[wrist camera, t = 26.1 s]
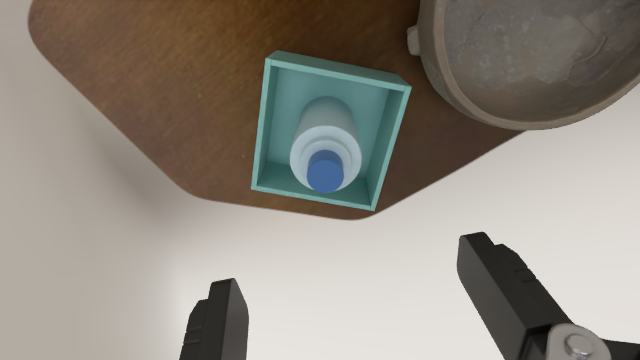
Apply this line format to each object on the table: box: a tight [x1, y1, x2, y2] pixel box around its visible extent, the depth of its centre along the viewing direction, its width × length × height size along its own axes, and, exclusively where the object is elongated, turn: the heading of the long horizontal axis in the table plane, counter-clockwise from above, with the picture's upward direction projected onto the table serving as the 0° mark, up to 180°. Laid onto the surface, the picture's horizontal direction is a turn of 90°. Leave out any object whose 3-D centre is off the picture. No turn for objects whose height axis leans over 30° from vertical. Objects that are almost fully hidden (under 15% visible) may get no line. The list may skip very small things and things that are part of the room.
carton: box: [251, 50, 412, 211], centre depth 33 cm, size 12×12×6 cm
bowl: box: [407, 0, 640, 130], centre depth 27 cm, size 17×18×10 cm
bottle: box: [290, 96, 362, 193], centre depth 30 cm, size 6×6×13 cm
